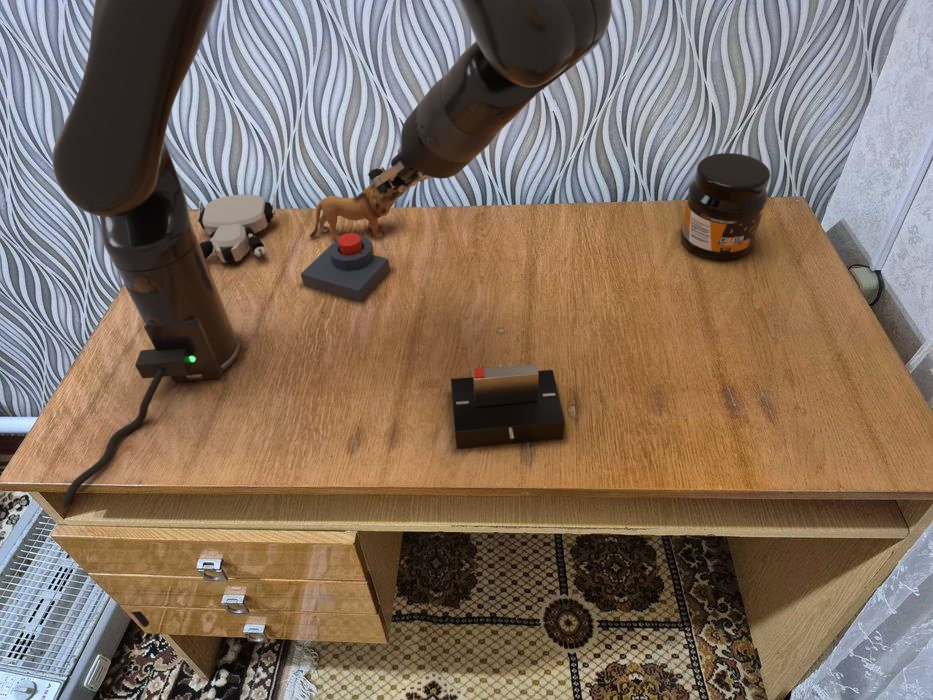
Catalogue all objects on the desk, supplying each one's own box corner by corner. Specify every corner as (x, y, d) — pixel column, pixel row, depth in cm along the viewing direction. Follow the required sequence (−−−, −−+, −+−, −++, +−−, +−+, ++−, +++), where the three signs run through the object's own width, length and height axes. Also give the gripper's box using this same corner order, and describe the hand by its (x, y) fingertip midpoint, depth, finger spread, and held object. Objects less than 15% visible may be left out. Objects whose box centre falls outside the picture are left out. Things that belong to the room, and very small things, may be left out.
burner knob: (535, 391, 75) (536, 361, 72) (537, 401, 74) (538, 372, 71) (474, 396, 75) (472, 367, 72) (475, 407, 74) (473, 378, 70)
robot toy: (273, 269, 101) (281, 210, 111) (265, 246, 97) (274, 187, 107) (192, 277, 100) (207, 217, 110) (181, 254, 97) (198, 195, 107)
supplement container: (683, 262, 96) (699, 188, 87) (674, 221, 103) (688, 150, 95) (759, 263, 94) (783, 189, 86) (745, 222, 102) (765, 150, 93)
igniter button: (366, 245, 96) (364, 235, 95) (354, 258, 94) (352, 247, 93) (348, 241, 97) (346, 231, 96) (336, 253, 95) (333, 243, 94)
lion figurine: (399, 216, 108) (392, 166, 102) (404, 234, 104) (397, 183, 98) (309, 231, 106) (296, 181, 100) (311, 250, 103) (297, 199, 96)
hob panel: (549, 377, 81) (550, 358, 78) (566, 450, 73) (567, 432, 70) (451, 386, 80) (449, 367, 78) (457, 460, 72) (455, 442, 70)
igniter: (394, 265, 99) (391, 243, 96) (361, 302, 93) (356, 280, 90) (339, 251, 102) (334, 229, 99) (303, 285, 96) (297, 263, 93)
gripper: (480, 69, 67) (414, 144, 82) (379, 114, 61) (328, 186, 76) (518, 134, 68) (446, 197, 83) (423, 184, 62) (363, 242, 77)
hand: (390, 192), depth 80 cm, fingers closed
